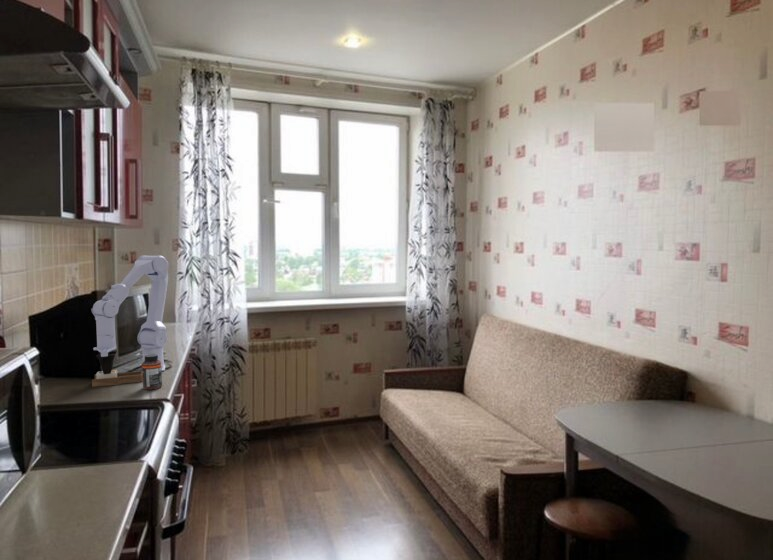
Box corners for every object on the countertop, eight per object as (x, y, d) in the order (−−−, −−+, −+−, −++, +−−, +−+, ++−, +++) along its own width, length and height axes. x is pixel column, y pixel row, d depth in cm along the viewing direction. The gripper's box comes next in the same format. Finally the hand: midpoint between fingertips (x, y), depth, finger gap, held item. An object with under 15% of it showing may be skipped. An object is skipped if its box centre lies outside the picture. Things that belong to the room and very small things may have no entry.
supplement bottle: (143, 386, 174) (141, 353, 173) (162, 384, 176) (160, 352, 175) (142, 391, 168) (141, 357, 167) (162, 388, 171) (161, 355, 170)
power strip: (98, 382, 179) (97, 370, 179) (117, 381, 181) (117, 369, 181) (96, 385, 176) (96, 373, 176) (116, 383, 178) (115, 371, 178)
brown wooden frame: (95, 381, 180) (94, 374, 180) (144, 376, 186) (144, 370, 186) (92, 387, 173) (91, 380, 173) (143, 381, 179) (143, 375, 179)
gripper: (96, 331, 182) (97, 369, 183) (89, 338, 169) (91, 379, 170) (118, 330, 185) (119, 367, 186) (113, 337, 171) (115, 376, 172)
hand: (107, 372), depth 178 cm, fingers closed on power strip, 2 cm apart
